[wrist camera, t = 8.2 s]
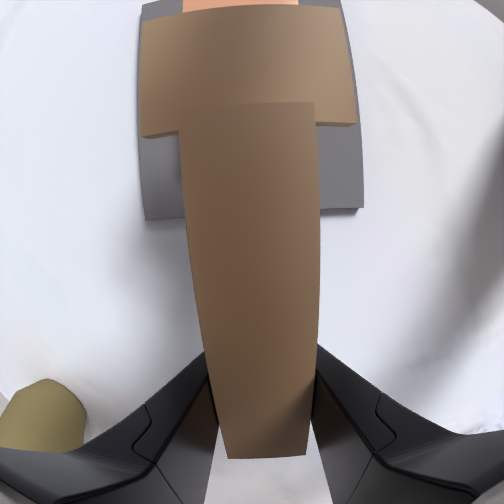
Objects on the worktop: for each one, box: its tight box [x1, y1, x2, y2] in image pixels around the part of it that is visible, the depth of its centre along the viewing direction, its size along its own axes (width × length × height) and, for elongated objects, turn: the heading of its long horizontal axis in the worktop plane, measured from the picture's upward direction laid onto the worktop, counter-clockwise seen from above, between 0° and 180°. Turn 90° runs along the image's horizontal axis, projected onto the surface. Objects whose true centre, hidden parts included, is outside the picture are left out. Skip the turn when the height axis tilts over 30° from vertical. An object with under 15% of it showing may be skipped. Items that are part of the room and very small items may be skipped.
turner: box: [140, 4, 357, 459], centre depth 7 cm, size 6×14×3 cm, turn 4°
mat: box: [137, 0, 364, 220], centre depth 13 cm, size 12×14×1 cm
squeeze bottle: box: [0, 379, 86, 452], centre depth 12 cm, size 8×8×18 cm
